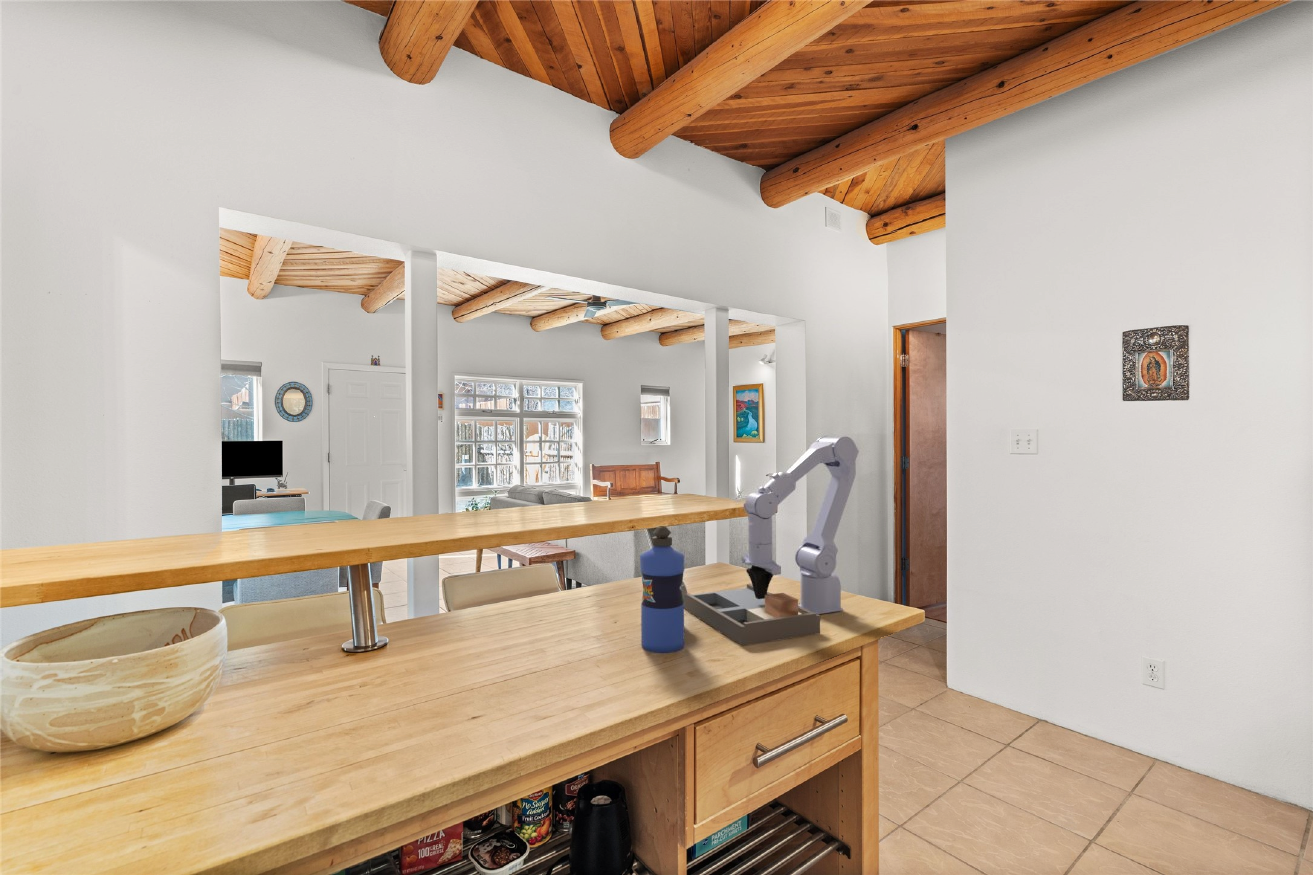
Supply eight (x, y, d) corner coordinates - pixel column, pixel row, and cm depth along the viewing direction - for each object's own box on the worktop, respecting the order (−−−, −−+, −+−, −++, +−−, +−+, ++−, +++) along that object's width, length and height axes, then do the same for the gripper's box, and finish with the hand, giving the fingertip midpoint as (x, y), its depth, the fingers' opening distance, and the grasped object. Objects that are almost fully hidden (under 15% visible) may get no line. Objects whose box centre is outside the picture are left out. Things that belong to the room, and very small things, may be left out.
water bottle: (650, 655, 122) (649, 532, 121) (634, 640, 130) (633, 525, 130) (692, 649, 125) (691, 528, 125) (674, 635, 134) (673, 522, 133)
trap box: (750, 598, 162) (749, 581, 162) (820, 633, 134) (820, 613, 134) (682, 607, 155) (682, 589, 154) (741, 645, 127) (741, 624, 127)
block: (783, 609, 142) (783, 592, 142) (798, 616, 136) (798, 599, 136) (764, 612, 140) (764, 595, 140) (779, 619, 135) (779, 601, 134)
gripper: (731, 538, 152) (731, 592, 152) (762, 549, 138) (762, 608, 139) (755, 536, 154) (755, 589, 155) (788, 546, 141) (788, 604, 141)
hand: (760, 598), depth 147 cm, fingers closed
